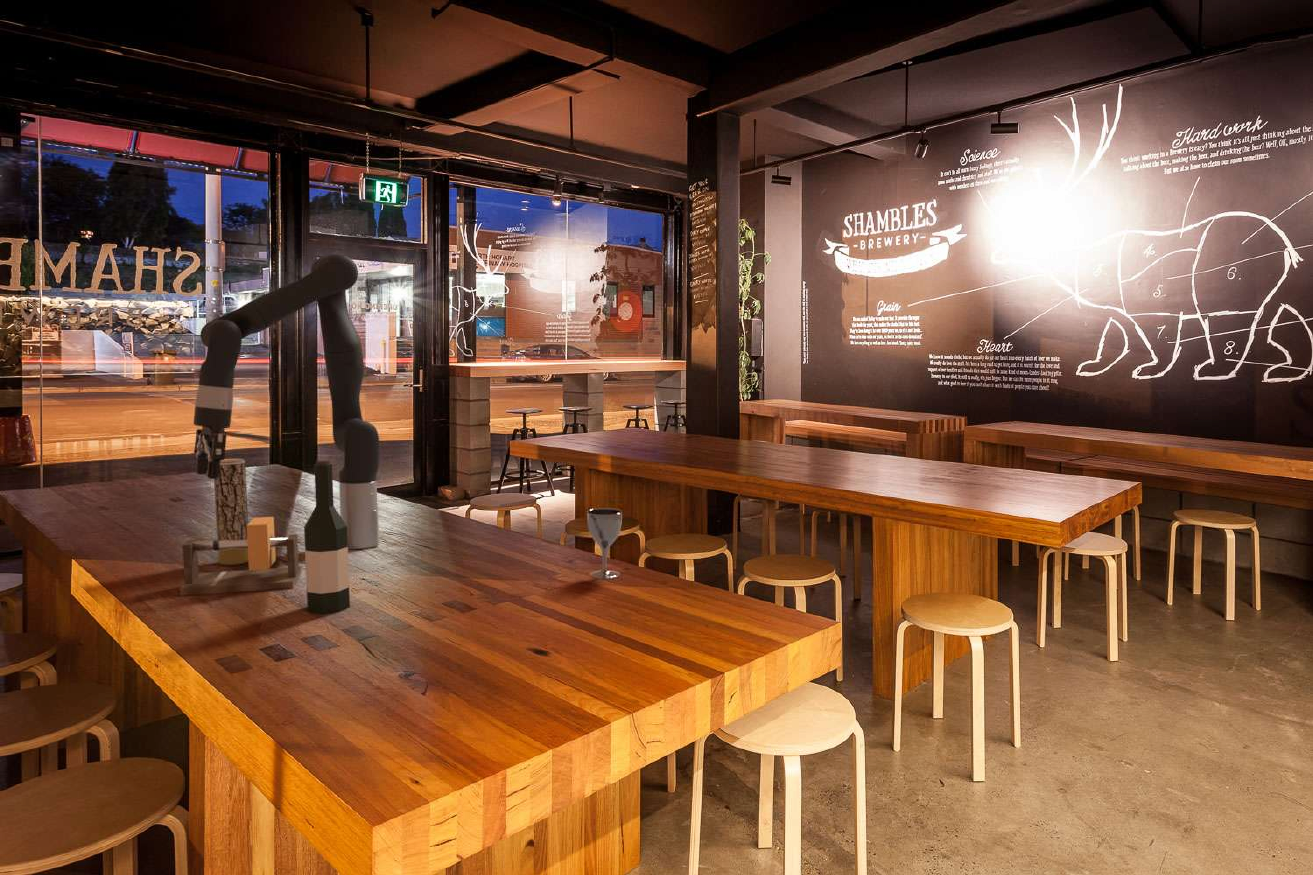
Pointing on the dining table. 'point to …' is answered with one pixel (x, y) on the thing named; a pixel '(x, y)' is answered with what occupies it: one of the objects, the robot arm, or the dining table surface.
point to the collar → (260, 543)
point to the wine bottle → (326, 549)
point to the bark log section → (231, 509)
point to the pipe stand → (238, 579)
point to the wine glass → (604, 535)
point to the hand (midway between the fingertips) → (206, 476)
